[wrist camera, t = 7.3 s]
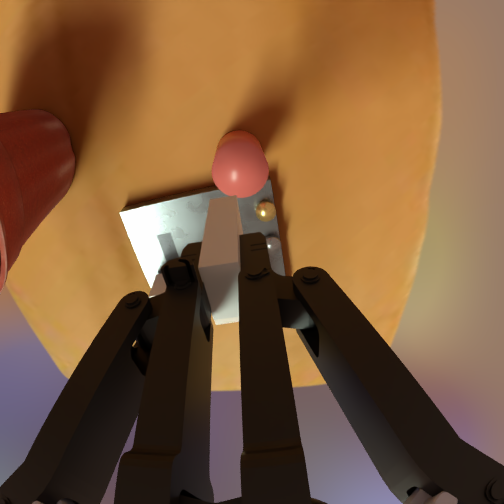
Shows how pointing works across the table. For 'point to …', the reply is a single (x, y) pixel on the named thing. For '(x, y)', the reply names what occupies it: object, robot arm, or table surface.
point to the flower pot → (30, 176)
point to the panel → (194, 225)
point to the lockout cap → (239, 165)
